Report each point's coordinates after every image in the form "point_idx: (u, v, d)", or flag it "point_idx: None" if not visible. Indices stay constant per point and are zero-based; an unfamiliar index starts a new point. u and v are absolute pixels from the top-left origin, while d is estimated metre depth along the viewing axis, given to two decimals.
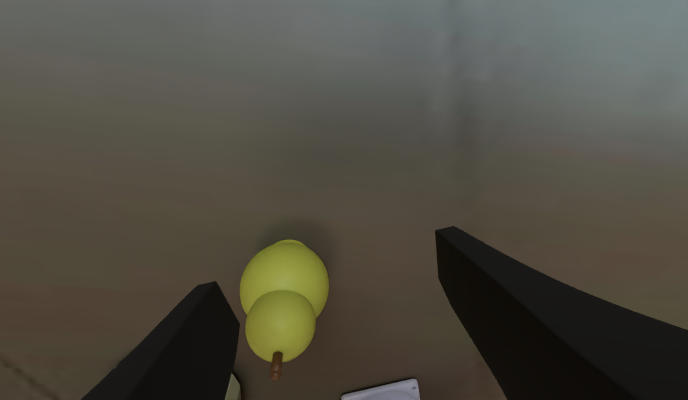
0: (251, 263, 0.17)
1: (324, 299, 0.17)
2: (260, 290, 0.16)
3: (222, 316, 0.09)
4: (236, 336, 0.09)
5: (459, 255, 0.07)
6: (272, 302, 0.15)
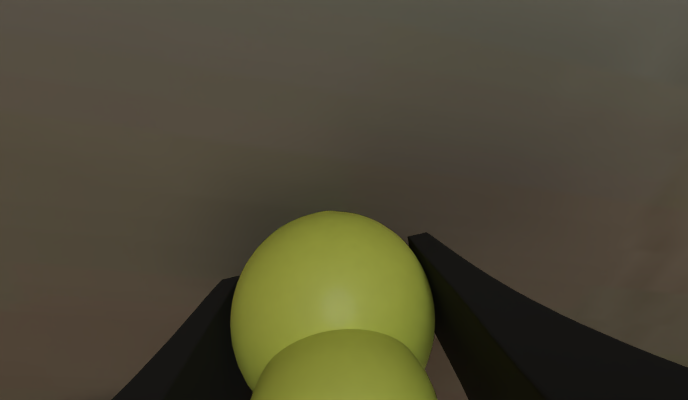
0: (257, 256, 0.07)
1: (432, 342, 0.07)
2: (285, 330, 0.06)
3: None
4: None
5: (426, 262, 0.07)
6: (329, 376, 0.05)
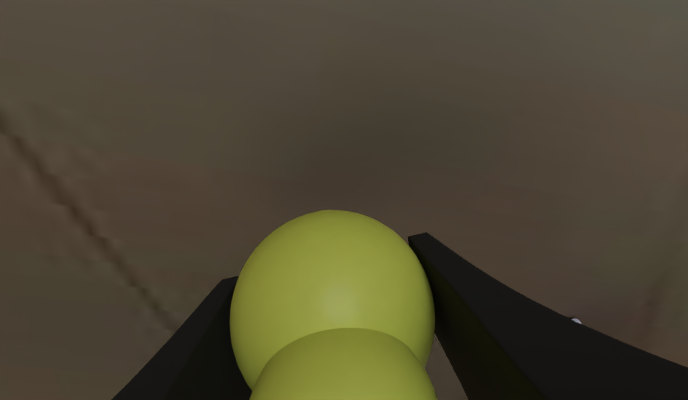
0: (257, 256, 0.07)
1: (432, 341, 0.07)
2: (284, 329, 0.06)
3: None
4: None
5: (426, 262, 0.07)
6: (329, 375, 0.05)
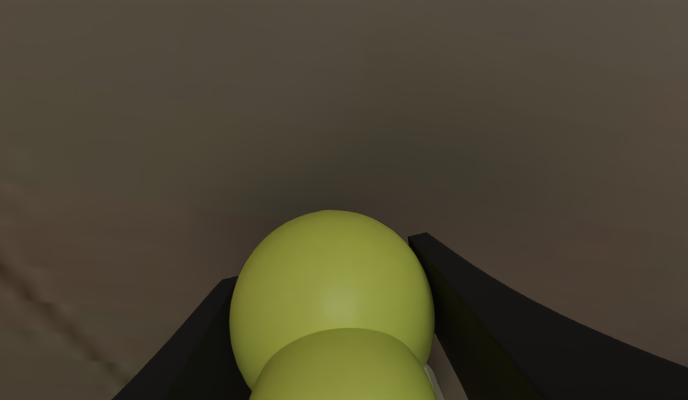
0: (257, 255, 0.07)
1: (432, 341, 0.07)
2: (284, 329, 0.06)
3: None
4: None
5: (426, 262, 0.07)
6: (329, 375, 0.05)
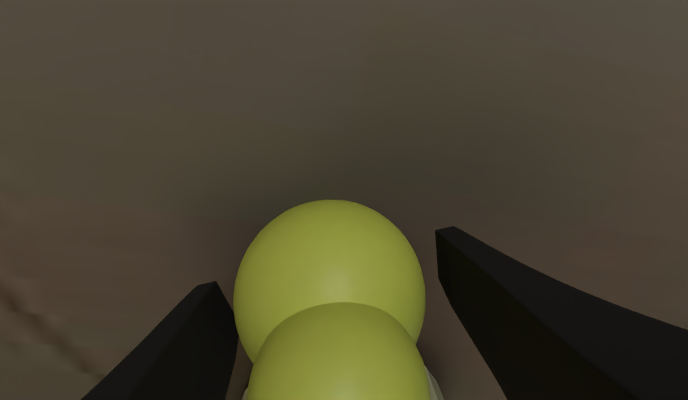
0: (259, 240, 0.07)
1: (422, 321, 0.08)
2: (285, 304, 0.06)
3: (222, 316, 0.09)
4: (236, 336, 0.09)
5: (459, 255, 0.07)
6: (325, 340, 0.05)
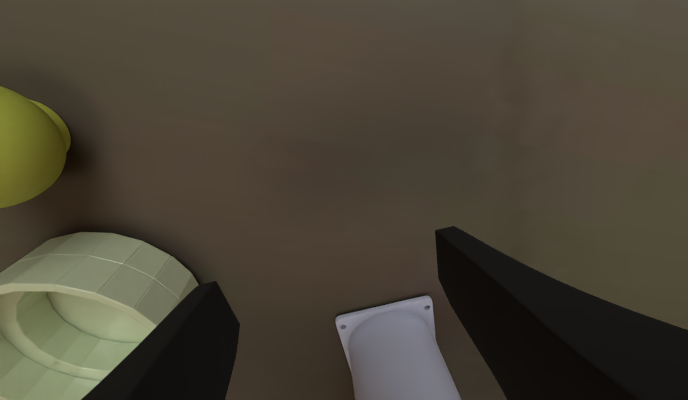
0: None
1: (9, 155, 0.11)
2: None
3: (222, 316, 0.09)
4: (236, 336, 0.09)
5: (459, 255, 0.07)
6: None
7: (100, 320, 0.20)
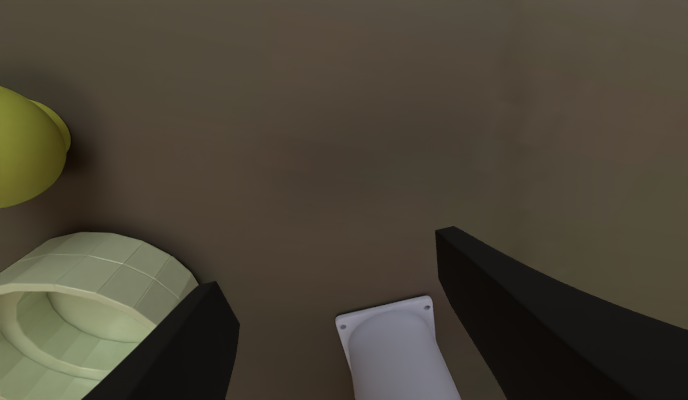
0: None
1: (9, 155, 0.11)
2: None
3: (222, 316, 0.09)
4: (236, 336, 0.09)
5: (459, 255, 0.07)
6: None
7: (100, 320, 0.20)
